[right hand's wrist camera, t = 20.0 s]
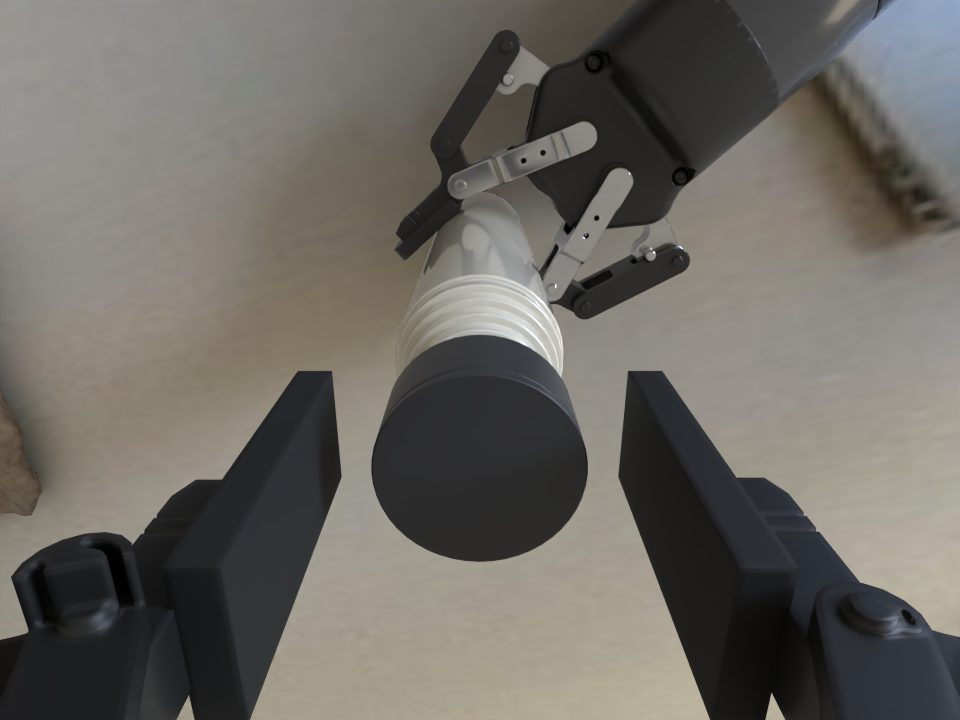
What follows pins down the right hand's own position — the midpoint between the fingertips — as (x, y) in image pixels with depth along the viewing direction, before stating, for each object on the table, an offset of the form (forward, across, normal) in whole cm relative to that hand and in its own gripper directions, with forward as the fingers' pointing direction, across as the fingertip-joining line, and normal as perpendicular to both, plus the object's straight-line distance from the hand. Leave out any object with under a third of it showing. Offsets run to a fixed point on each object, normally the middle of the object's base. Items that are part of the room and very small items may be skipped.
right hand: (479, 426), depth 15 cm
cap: (-2, 0, 0) cm, 2 cm away
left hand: (+18, -2, -2) cm, 18 cm away
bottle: (+24, 0, 0) cm, 24 cm away
